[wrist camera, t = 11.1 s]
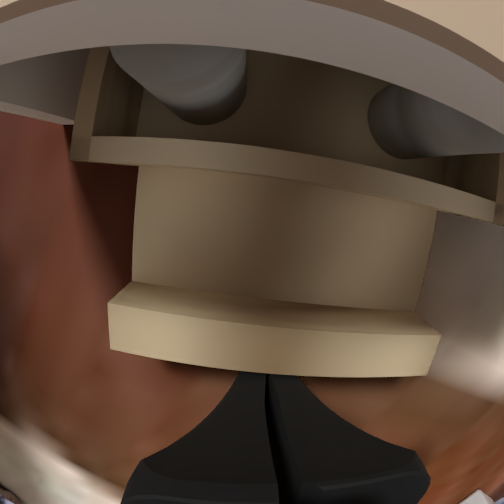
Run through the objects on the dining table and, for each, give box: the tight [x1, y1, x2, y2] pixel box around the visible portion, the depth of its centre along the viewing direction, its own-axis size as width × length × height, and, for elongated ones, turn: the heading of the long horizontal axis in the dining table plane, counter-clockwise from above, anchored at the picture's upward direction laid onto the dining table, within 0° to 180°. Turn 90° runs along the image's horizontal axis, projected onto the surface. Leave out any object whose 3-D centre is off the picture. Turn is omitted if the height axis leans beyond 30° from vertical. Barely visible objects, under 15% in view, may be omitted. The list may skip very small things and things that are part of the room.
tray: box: [69, 44, 504, 377], centre depth 8 cm, size 12×11×5 cm
